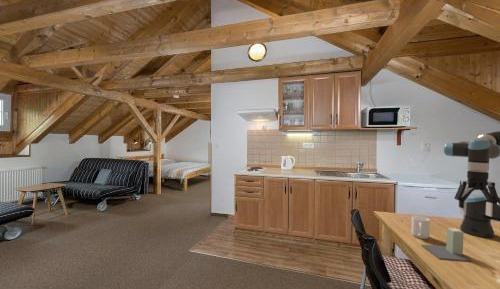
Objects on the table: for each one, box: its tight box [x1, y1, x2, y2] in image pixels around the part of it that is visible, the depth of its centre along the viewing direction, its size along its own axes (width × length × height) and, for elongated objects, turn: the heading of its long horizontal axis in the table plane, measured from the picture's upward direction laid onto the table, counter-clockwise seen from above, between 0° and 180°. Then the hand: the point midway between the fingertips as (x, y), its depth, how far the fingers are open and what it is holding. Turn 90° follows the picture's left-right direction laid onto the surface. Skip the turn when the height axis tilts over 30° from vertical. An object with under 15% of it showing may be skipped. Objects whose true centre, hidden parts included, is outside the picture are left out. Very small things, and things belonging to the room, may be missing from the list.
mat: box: [420, 244, 472, 262], centre depth 117 cm, size 14×14×1 cm
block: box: [445, 227, 465, 255], centre depth 117 cm, size 4×4×11 cm
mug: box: [410, 215, 431, 240], centre depth 136 cm, size 9×12×11 cm
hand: (475, 215), depth 115 cm, fingers open, 11 cm apart
